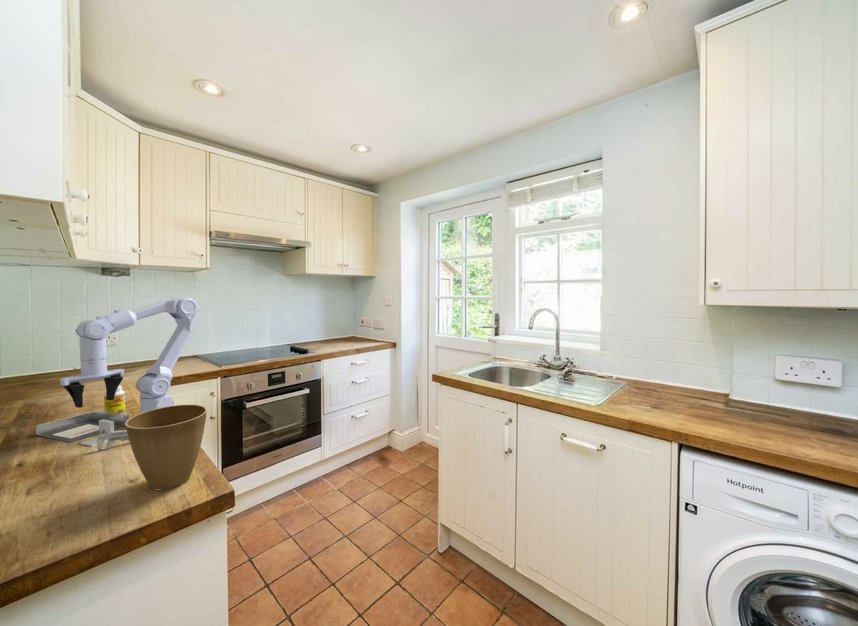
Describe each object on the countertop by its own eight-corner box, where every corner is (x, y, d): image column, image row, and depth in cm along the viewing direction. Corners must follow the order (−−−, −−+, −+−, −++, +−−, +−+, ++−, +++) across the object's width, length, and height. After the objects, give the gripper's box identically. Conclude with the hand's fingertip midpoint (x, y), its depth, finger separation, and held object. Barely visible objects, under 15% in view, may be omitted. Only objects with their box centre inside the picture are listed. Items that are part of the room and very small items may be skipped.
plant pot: (121, 484, 78) (119, 416, 77) (197, 460, 89) (195, 400, 88) (136, 510, 68) (133, 433, 68) (218, 479, 80) (216, 413, 79)
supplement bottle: (102, 418, 119) (101, 389, 119) (106, 413, 124) (105, 386, 123) (124, 415, 122) (122, 387, 122) (127, 410, 127) (125, 384, 126)
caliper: (98, 453, 93) (97, 431, 93) (97, 452, 94) (96, 430, 94) (185, 430, 110) (184, 411, 109) (184, 429, 110) (183, 410, 110)
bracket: (103, 436, 104) (102, 419, 103) (114, 439, 102) (113, 421, 102) (80, 444, 98) (79, 425, 98) (91, 446, 97) (91, 428, 97)
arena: (129, 424, 114) (128, 415, 114) (70, 442, 99) (70, 432, 99) (96, 418, 119) (96, 409, 118) (36, 435, 104) (35, 425, 104)
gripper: (113, 354, 111) (115, 395, 111) (53, 362, 97) (54, 409, 98) (128, 356, 109) (129, 397, 109) (68, 364, 95) (69, 411, 95)
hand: (95, 403), depth 103 cm, fingers open, 7 cm apart
